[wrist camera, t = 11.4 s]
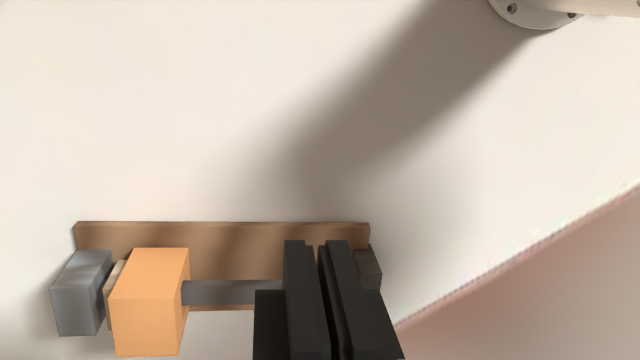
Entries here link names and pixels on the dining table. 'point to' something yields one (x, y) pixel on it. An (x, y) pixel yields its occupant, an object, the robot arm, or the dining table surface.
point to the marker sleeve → (150, 303)
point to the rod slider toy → (193, 263)
